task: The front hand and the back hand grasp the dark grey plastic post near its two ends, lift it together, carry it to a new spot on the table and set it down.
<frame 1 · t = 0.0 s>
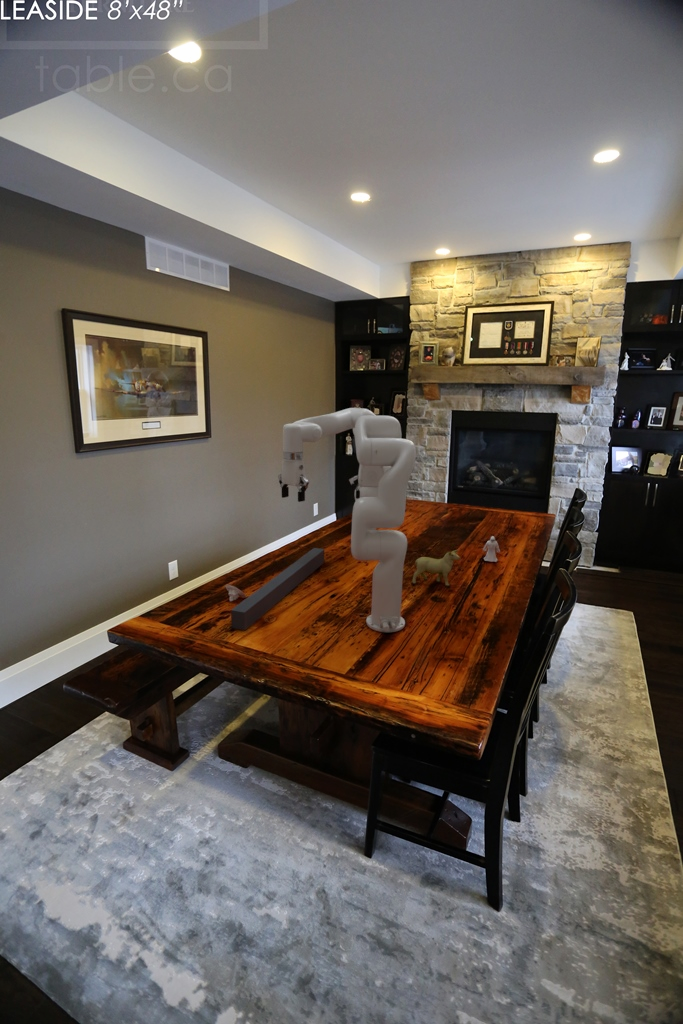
front hand: (370, 500, 199), 31 cm above the table, tool pointing down, fingers open, 9 cm apart
back hand: (293, 499, 198), 31 cm above the table, tool pointing down, fingers open, 9 cm apart
toy: (434, 584, 197), on the table
post: (285, 589, 188), on the table
figurine: (490, 560, 225), on the table
white irregular piece: (235, 599, 179), on the table
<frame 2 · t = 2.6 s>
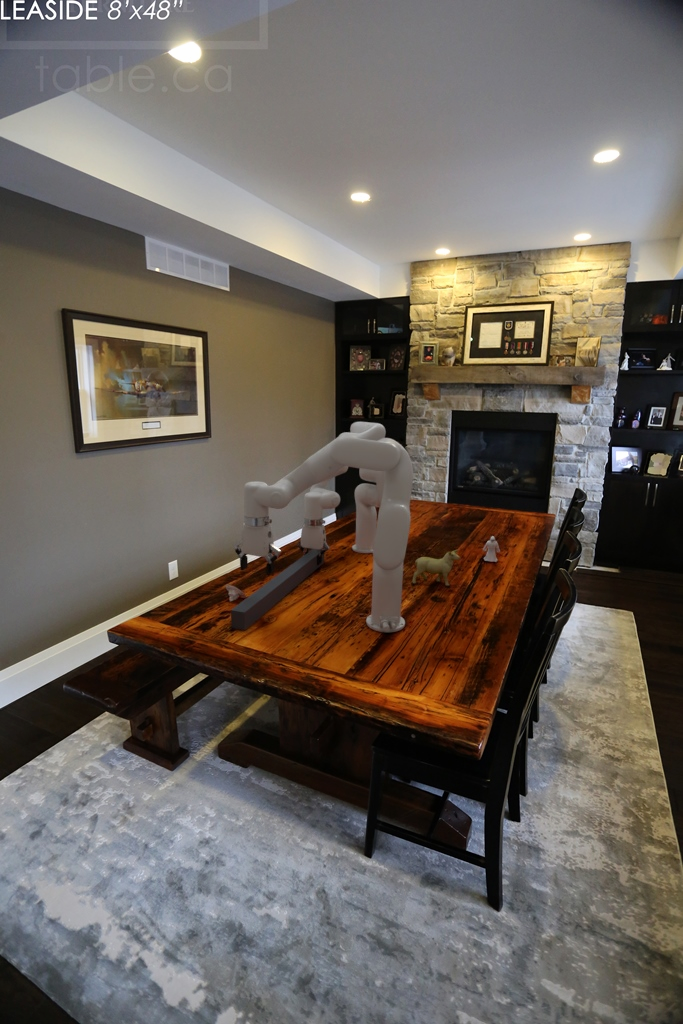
front hand: (256, 571, 163), 16 cm above the table, tool pointing down, fingers open, 9 cm apart
back hand: (313, 562, 213), 2 cm above the table, tool pointing down, fingers closed on post, 4 cm apart
post: (285, 589, 188), on the table, touching back hand
everything else where it was.
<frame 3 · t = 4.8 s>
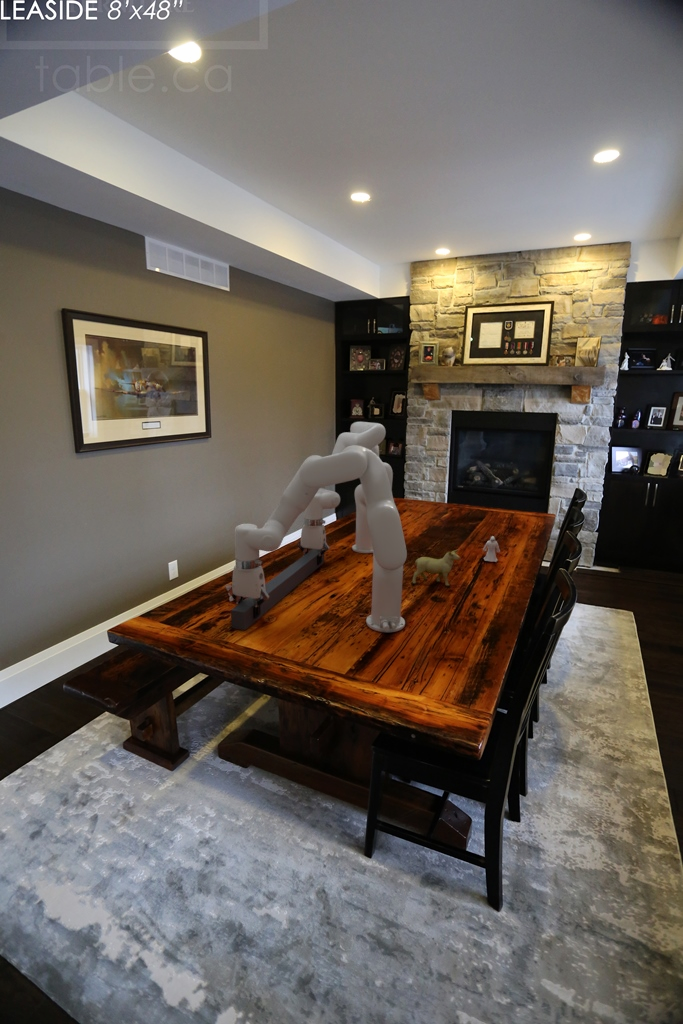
front hand: (249, 614, 163), 2 cm above the table, tool pointing down, fingers closed on post, 5 cm apart
back hand: (313, 562, 213), 2 cm above the table, tool pointing down, fingers closed on post, 4 cm apart
post: (285, 589, 188), on the table, touching front hand, back hand
everything else where it was.
when the front hand's fingers open (3 cm above the table, at t = 10.1 s): post drops 1 cm, on the table.
when the back hand's fingers open (3 cm above the table, at t = 10.1 s): post drops 1 cm, on the table.
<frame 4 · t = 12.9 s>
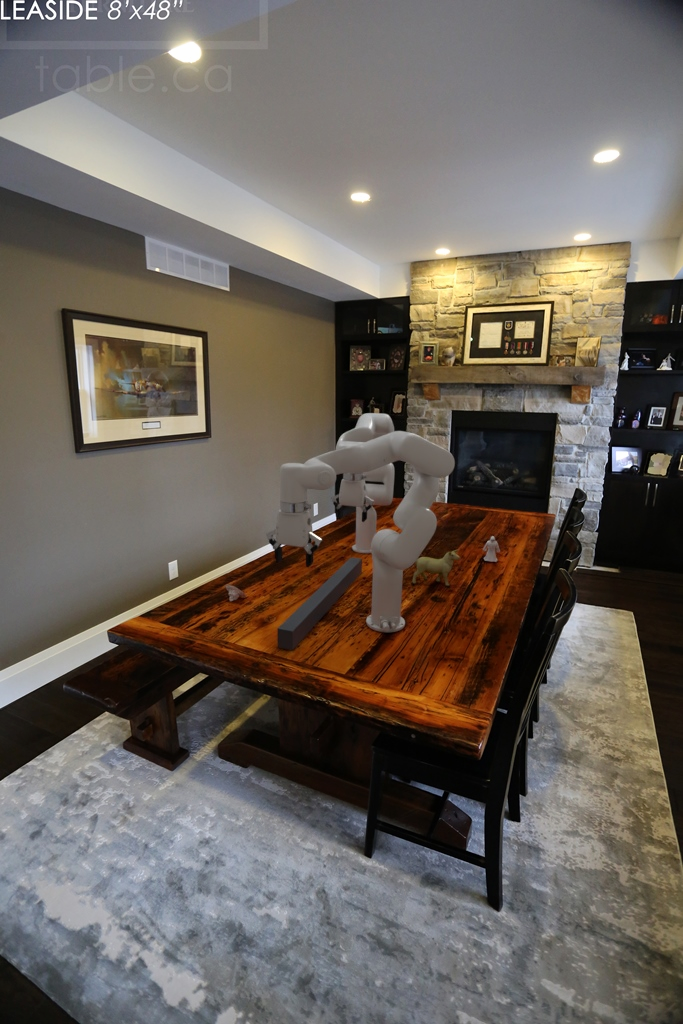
front hand: (293, 563, 146), 24 cm above the table, tool pointing down, fingers open, 9 cm apart
back hand: (352, 519, 196), 24 cm above the table, tool pointing down, fingers open, 9 cm apart
post: (326, 603, 177), on the table
everything else where it was.
at the end: post inside the target area (0.2 cm from its centre), on the table; post tilted 0°; post never tilted more than 1° during the clip; both hands held the post at the same time; the front hand is holding nothing; the back hand is holding nothing; post at rest at the end (0.0 cm/s) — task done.
